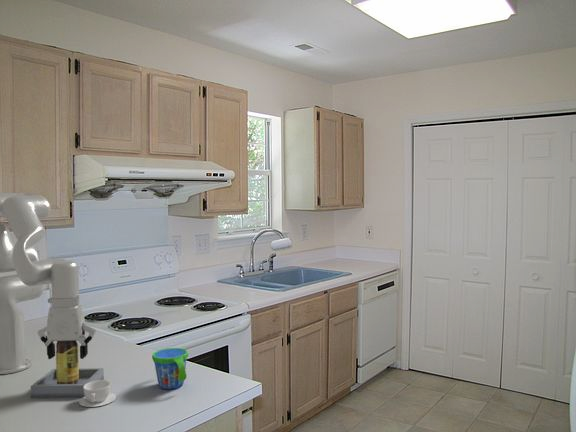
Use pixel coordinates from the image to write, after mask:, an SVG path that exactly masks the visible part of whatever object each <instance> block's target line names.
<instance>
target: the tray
mask: <svg viewBox="0 0 576 432" xmlns="http://www.w3.org/2000/svg"><path fill="white" fill-rule="evenodd" d="M104 373H105V372H104V368H103V367H94V368H89V367H87V368H86V367H85V368H84V367H83V368H80V367H79V378H78V383H77V384H57V380H56V368H52V369H51V370H50V371H49V372H46V374H45V375H43V376H42V377H40V378H39V379H38V380H36V381H35V382H33V384H31V385H30V397H31V398H33V399H39V398H40V399H42V398H43V399H46V398H47V399H48V398H83V397H85V394H84V389H83V387H84V385H85V384H87V383H89V382H93V381H98V380H105V378H104V377H105V376H104Z"/></svg>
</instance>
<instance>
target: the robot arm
mask: <svg viewBox="0 0 576 432" xmlns="http://www.w3.org/2000/svg"><path fill="white" fill-rule="evenodd" d="M51 210H52V207H51V204H50V202H49V200H48V199H47V198H46V197H45V196H43V195H40V194H34V193H28V192H0V219H1V218H5V219H6V221H7V223H8V224H9V226H10V229H11V231H12V232H13V235H14V236H15V238H16V242H15V243H14V242H13V241H12V240H13V238H12V235H11V231H10V229H9V227H8V226H7V225H6V224H5V223H4V222H3V221H1V220H0V274H3V273H9V272H11V273H12V272H16V273H17V274H12V275H11V274H10V275H4V276H0V375H9V374H14V373H18V372H21V371H24V370H26V369H28V368H30V367H31V366H32V361H31V360H30V359H27V358H26V357H27V356H26V355H27V353H26V331H25V328H26V326H25V314H24V312H23V311H22V310H21V308H20V307H19V306H18V305H17V303H23V302H26V301H31V300H36V299H39V298H40V297H42V295H43V294H44V291H45V285H48V284H51V298H48V299H47V303H48V304H51V306H50V307H49V308H48V314H47V322H46V326H45V327H43V328H41V329H39V330H38V331H37V335H38V337H39V338H40V341H42V342H43V344H44V346H46V355H47V359H48V360H51V359H53V358H54V357H56V345H55V342H57V341H77V342H78V343H79V344H81V345H80V346H79V358H80V359H81V360H84V359H85V358H86V357H87V355H88V352H89V351H88V343H90V342H91V341H92V339H93V338H94V336H95V335H96V332H97V330H96V329H95V328H93V327H91V326H89V325H87V324H86V322H85V321H86V320H85V315H84V310H83V307H82V305H81V304H80V285H79V283H80V281H79V265H78V263H77V261H74V260H66V259H65V258H61V257H57V258H56V257H54V258H49V259H48V258H47V259H40V257H39V253H38V251H37V248H36V247H35V246H34V245H37V243H39V242H40V241H41V240H42V239H43V238H44V237H45V235H46V229H45V227H44V225H43V223H42V222H41V221H43V220H44V221H45V220H46V219H47V218H49V216H50V215H51ZM86 333H88V335H87V336H86Z"/></svg>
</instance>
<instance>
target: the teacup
mask: <svg viewBox="0 0 576 432" xmlns="http://www.w3.org/2000/svg"><path fill="white" fill-rule="evenodd" d="M111 386H112V383H111V381H109V380H107V379H106V380H105V379H103V380H98V381H93V382H89V383H87V384H85V385H84V387H83V389H84V394H85V397H81V399H79V401H78V404H79V405H80V406H83V407H85V408H95V407H101V406H104V405H108V404H110V403H112V402H115V400H116V398H117V394H115V393H113V392H111Z"/></svg>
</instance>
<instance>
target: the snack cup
mask: <svg viewBox="0 0 576 432" xmlns="http://www.w3.org/2000/svg"><path fill="white" fill-rule="evenodd" d="M188 357H189V352H188V350H187V349H185V348H182V347H181V348H179V347H170V348H169V347H168V348H163V349H160V350H157V351H155V352H154V353H152V355H151V360H152V361H153V362H154V363H153V364H154V368H155V375H156V379H157V383H158V387H159V388H161V389H163V390H174V389H178V388H180V387H182V386H183V385H184V382H185V380H186V378H187V371H186V367H187V366H186V365H187V359H188Z"/></svg>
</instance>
